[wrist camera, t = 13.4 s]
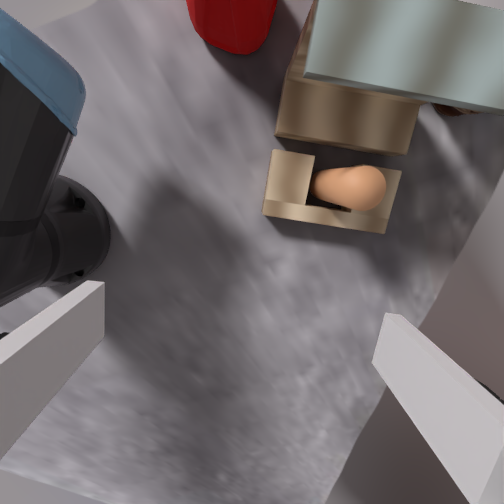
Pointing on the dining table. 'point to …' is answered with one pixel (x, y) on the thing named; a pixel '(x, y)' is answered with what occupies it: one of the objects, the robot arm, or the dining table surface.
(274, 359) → the dining table surface
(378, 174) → the peg
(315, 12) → the socket awning
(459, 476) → the robot arm
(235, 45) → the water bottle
